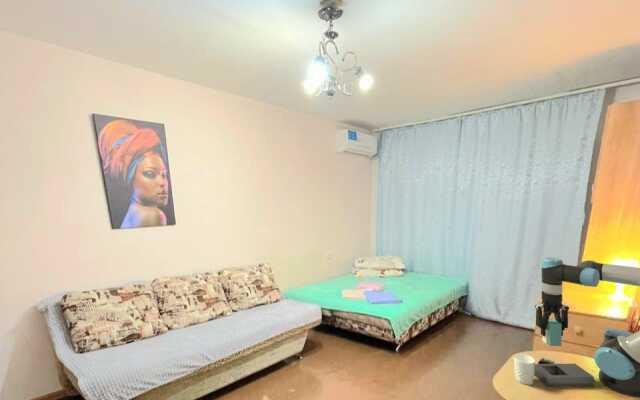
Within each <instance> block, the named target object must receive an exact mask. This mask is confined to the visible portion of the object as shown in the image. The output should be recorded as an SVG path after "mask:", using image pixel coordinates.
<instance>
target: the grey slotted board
mask: <svg viewBox="0 0 640 400" xmlns="http://www.w3.org/2000/svg"><path fill="white" fill-rule="evenodd" d="M534 378H536V379H537V380H538V381H539V382H541V383H542V384H543V385H544V386H545V387H546V388H548V387H549V388H553V387H555V388H557V387H558V388H559V387H594V386H595V377H594V375H592V374H590V373H589V372H588V371H586V370H585V368H583V367H581V366H579V365H578V364H576V363H535V370H534Z"/></svg>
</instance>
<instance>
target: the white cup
mask: <svg viewBox="0 0 640 400" xmlns="http://www.w3.org/2000/svg"><path fill="white" fill-rule="evenodd" d="M535 364H536V360H535V358H533V357H532V356H530V355H528V354H525V353H515V354H514V355H513V368H514V369H513V371H514V377H515V381H517V382H518V383H520V384H523V385H527V386H531V385H534V378H535V376H534V370H535Z"/></svg>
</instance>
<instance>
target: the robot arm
mask: <svg viewBox="0 0 640 400" xmlns="http://www.w3.org/2000/svg"><path fill="white" fill-rule="evenodd" d="M540 269H541V302H540V304H535V305H534V309H535V326H536V327H537V328H539V329H540V334H541V336H542V338H541V340H542V342H543V343H545V344H546V345H548V330H547V329H546V328H547V324H548V320H549V319H550V316H551V315H552V314H553V316H554V320H556V321H557V322H559V323H561V337H563V336H564V331H565V330H566V329H569V315H568V314H569V310H570V307H569V306H568V305H566V304H563V282H564V283H569V284H575V285H580V286H585V287H592V288H596V287H598V285H599V283H600V281H601V282H607V283H616V284H620V285H621V284H623V285H628V286H634V287H640V267H635V266H627V265H618V264H617V265H616V264H608V263H602V262H601V263H600V262H597V261H595V260H583V261H581V262H580V263H578V264H577V265H569V264H564V262H563V260H562V259H561V258H559V257H558V258H557V257H553V256H552V257H543V258H542V259H541V268H540ZM603 336H604V338H603V341H602V342H601V343H600V345H599V347H598V348H597V349H595V351H594V354H593V355H594V356H593V359H594V362H595V364H596V366H597V368H598V369H599V371H598V380H599V382H600V383H602V384H603V385H604V386H606V387H607V388H608V389H611V390H612V391H615V392H617V393H620V394H622V395H626V396H630V397H635V398H637V397H638V398H640V330H638V331H637V332H634V333H632V332H629V331H626V330H622V329H617V328H606V329H604V331H603Z"/></svg>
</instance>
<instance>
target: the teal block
mask: <svg viewBox="0 0 640 400" xmlns="http://www.w3.org/2000/svg"><path fill="white" fill-rule="evenodd" d="M546 329H547V330H548V344H547V345H548V346H549V347H562V336H561V323H559V322H557V321H556V320H555V318H553V319H552V318H551V319H550V318H549V320H548V324H547V328H546Z"/></svg>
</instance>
